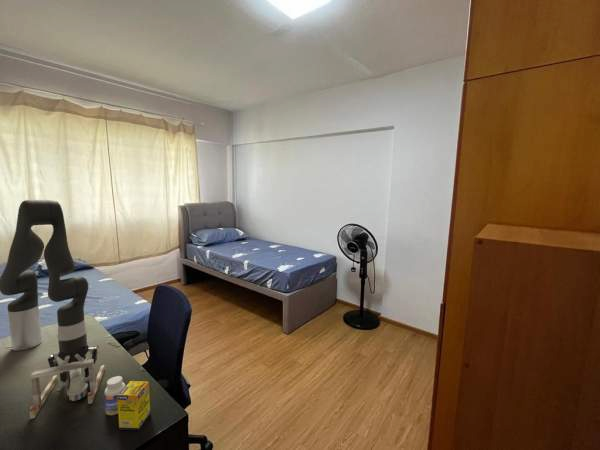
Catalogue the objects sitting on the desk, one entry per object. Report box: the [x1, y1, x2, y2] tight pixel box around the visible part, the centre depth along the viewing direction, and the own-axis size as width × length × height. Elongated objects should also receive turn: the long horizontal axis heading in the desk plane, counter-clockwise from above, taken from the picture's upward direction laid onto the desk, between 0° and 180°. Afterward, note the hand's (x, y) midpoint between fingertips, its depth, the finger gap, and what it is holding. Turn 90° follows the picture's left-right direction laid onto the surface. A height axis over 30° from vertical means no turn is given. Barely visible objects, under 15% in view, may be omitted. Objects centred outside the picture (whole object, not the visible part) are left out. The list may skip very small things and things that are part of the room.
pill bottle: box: [104, 375, 126, 416], centre depth 84 cm, size 5×5×10 cm
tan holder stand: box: [29, 358, 106, 420], centre depth 91 cm, size 18×16×12 cm
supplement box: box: [117, 380, 151, 431], centre depth 79 cm, size 6×6×11 cm
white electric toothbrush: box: [66, 362, 89, 402], centre depth 96 cm, size 5×7×25 cm
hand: (76, 378), depth 96 cm, fingers closed on white electric toothbrush, 5 cm apart
